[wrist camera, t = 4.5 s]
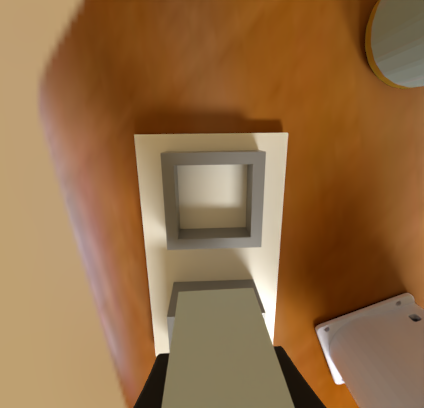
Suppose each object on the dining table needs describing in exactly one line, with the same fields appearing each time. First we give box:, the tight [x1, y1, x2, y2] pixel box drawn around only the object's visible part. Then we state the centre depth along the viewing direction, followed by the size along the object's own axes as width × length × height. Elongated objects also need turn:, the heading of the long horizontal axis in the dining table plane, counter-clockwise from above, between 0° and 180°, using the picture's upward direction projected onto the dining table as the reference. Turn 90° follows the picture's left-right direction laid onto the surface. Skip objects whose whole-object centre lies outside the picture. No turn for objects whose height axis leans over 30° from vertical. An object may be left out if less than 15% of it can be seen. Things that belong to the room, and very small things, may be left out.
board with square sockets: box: [134, 133, 288, 357], centre depth 18 cm, size 20×11×5 cm, turn 1°
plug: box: [161, 288, 295, 408], centre depth 10 cm, size 5×4×6 cm
